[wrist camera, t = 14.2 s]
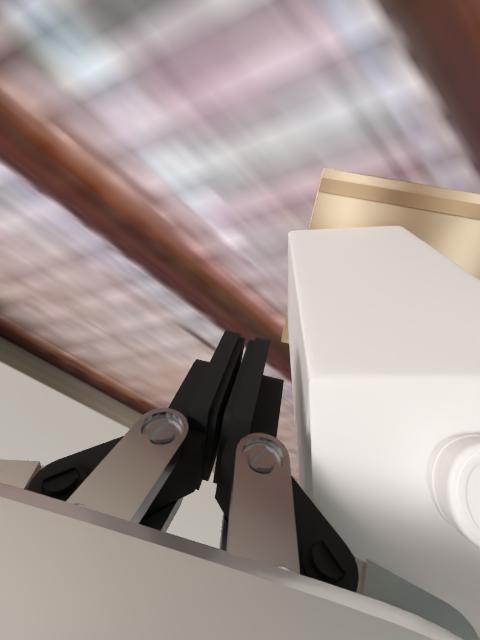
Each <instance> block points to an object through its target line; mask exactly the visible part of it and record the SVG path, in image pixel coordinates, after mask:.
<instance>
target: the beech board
mask: <svg viewBox="0 0 480 640" xmlns="http://www.w3.org/2000/svg"><path fill="white" fill-rule="evenodd" d="M377 226H402V227H403V228H405V229H406V230H408V231H409V232H411V233H412V234H414V235H415V236H416V237H418V238H419V239H421V240H422V241H424V242H425V243H427V244H428V245H430V246H431V247H432V248H434V249H435V250H437V251H438V252H440V253H441V254H443V255H444V256H445V257H447V258H448V259H450V260H451V261H453V262H454V263H456V264H457V265H459V266H460V267H461V268H463V269H464V270H466V271H467V272H469V273H470V274H472V275H473V276H475V277H476V278H477V279H479V280H480V194H477V193H471V192H465V191H459V190H453V189H447V188H441V187H435V186H429V185H423V184H417V183H411V182H405V181H399V180H393V179H387V178H381V177H375V176H369V175H363V174H357V173H351V172H345V171H339V170H333V169H327V168H323V171H322V175H321V180H320V184H319V188H318V192H317V196H316V200H315V204H314V208H313V212H312V216H311V220H310V224H309V228H308V230H316V229H336V228H357V227H377ZM281 342H285V343H289V332H288V314H287V318H286V322H285V326H284V330H283V334H282V341H281Z"/></svg>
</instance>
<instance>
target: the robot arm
mask: <svg viewBox="0 0 480 640" xmlns="http://www.w3.org/2000/svg"><path fill="white" fill-rule="evenodd" d="M244 343H245V338H241V337H240V333H237V332H232V331H228V330H226V331H225V332H224V334H223V336H222V338H221V340H220V343H219V345H218V347H217V349H216V351H215V353H214V355H213V357H212V359H211V361H210V362H207V361H202V360H198V359H197V360H195V362H194V363H193V365H192V367H191V369H190V371H189V372H188V374H187V376H186V378H185V379H184V381H183V383H182V385H181V386H180V388H179V390H178V392H177V394H176V395H175V397H174V399H173V401H172V402H171V404H170V406H169V408H159V409H154V410H151V411H149V412H147V413H145V414H144V415H143V416H142V417H141V418H140V419H139V420H138V421H137V422H136V423H135V424H134V425H133V427H132V428H131V429H130V430H129V431H128V432H127V433H126V434H125V436H122V437H120V438H117V439H114V440H111V441H109V442H106V443H103V444H100V445H98V446H95V447H92V448H89V449H86V450H84V451H81V452H78V453H75V454H73V455H70V456H67V457H64V458H62V459H59V460H57V461H54V462H52V463H50V464H48V465H46V466H41V465H40V462H39V461H19V460H0V640H480V638H479V637H478V635H477V633H476V631H475V630H474V628H473V626H472V625H471V624H470V622H469V621H468V620H467V619H466V618H465V617H464V616H463V614H462V613H461V612H459V611H458V610H457V609H455V608H454V607H453V606H451V605H450V604H448V603H447V602H445V601H443V600H441V599H439V598H437V597H436V596H434V595H432V594H430V593H428V592H427V591H425V590H423V589H421V588H419V587H417V586H416V585H414V584H412V583H410V582H408V581H407V580H405V579H403V578H401V577H399V576H397V575H396V574H394V573H392V572H390V571H388V570H387V569H385V568H383V567H381V566H379V565H377V564H376V563H374V562H372V561H370V560H368V559H366V561H365V562H363V561H362V560H360V559H358V558H356V557H354V555H353V554H352V552H351V551H350V549H349V548H348V546H347V545H346V543H345V542H344V541H343V540H342V538H341V537H340V536H339V535H338V533H337V532H336V531H335V530H334V528H333V527H332V526H331V524H330V523H329V522H328V521H327V519H326V518H325V517H324V516H323V514H322V513H321V512H320V511H319V509H318V508H317V507H316V506H315V504H314V503H313V502H312V501H311V499H310V498H309V497H308V496H307V494H306V493H305V492H304V491H303V489H302V488H301V487H300V486H299V484H298V483H297V482H296V481H295V479H294V478H293V477H292V476H291V469H290V458H289V455H288V451H287V449H286V448H285V446H284V445H283V444H282V443H281V442H280V441H279V440H278V439H277V438H276V436H277V428H278V421H279V413H280V405H281V398H282V390H283V382H284V380H281V379H277V378H273V377H268V376H264V375H263V372H264V367H265V363H266V358H267V354H268V349H269V345H270V340H267V339H263V338H259V337H256V338H255V341H254V340H249V342H248V345H247V348H246V351H245V354H244V357H243V360H242V355H243V349H244ZM241 360H242V362H241ZM217 453H218V454H217ZM216 456H217V461H216V467H215V473H214V481H213V483H216V484H217V488H216V494H215V498H216V500H217V502H218V504H219V505H220V507H221V509H222V511H223V512H224V514H223V520H222V530H221V540H220V549H217V548H214V547H210V546H208V545H204V544H201V543H198V542H195V541H192V540H188V539H185V538H182V537H179V536H175V535H172V534H169V533H166V530H167V529H168V527H169V525H170V523H171V521H172V520H173V518H174V516H175V514H176V512H177V510H178V509H179V507H180V505H181V502H182V499H183V497H184V496H186V495H188V494H190V493H192V492H194V491H195V489H197V490H199V488H200V485H201V482H202V480H206V481H208V480H209V477H210V475H211V471H212V468H213V465H214V462H215V459H216Z"/></svg>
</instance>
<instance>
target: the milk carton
mask: <svg viewBox="0 0 480 640" xmlns="http://www.w3.org/2000/svg"><path fill="white" fill-rule="evenodd" d="M288 332H289V346H290V360H291V374H292V388H293V402H294V416H295V431H296V445H297V459H298V473H299V486H300V487H301V488H302V489H303V491H304V492H305V493H306V494H307V496H308V497H309V498H310V499H311V501H312V502H313V503H314V504H315V506H316V507H317V508H318V509H319V511H320V512H321V513H322V514H323V516H324V517H325V518H326V519H327V521H328V522H329V523H330V524H331V526H332V527H333V528H334V530H335V531H336V532H337V533H338V535H339V536H340V537H341V538H342V540H343V541H344V542H345V543H346V545H347V546H348V548H349V549H350V551H351V552H352V554H353V555H354V557H356V558H358V559H360V560H362V561H363V562H365V561H366V559H368V560H370V561H372V562H374V563H376V564H377V565H379V566H381V567H383V568H385V569H387V570H388V571H390V572H392V573H394V574H396V575H397V576H399V577H401V578H403V579H405V580H407V581H408V582H410V583H412V584H414V585H416V586H417V587H419V588H421V589H423V590H425V591H427V592H428V593H430V594H432V595H434V596H436V597H437V598H439V599H441V600H443V601H445V602H447V603H448V604H450V605H451V606H453V607H454V608H455V609H457V610H458V611H459V612H461V613H462V614H463V616H464V617H465V618H466V619H467V620H468V621H469V622H470V624H471V625H472V626H473V628H474V630H475V631H476V633H477V635H478V637H479V638H480V280H479V279H477V278H476V277H475V276H473V275H472V274H470V273H469V272H467V271H466V270H464V269H463V268H461V267H460V266H459V265H457V264H456V263H454V262H453V261H451V260H450V259H448V258H447V257H445V256H444V255H443V254H441V253H440V252H438V251H437V250H435V249H434V248H432V247H431V246H430V245H428V244H427V243H425V242H424V241H422V240H421V239H419V238H418V237H416V236H415V235H414V234H412V233H411V232H409V231H408V230H406V229H405V228H403V227H402V226H377V227H357V228H336V229H316V230H297V231H290V232H289V233H288Z"/></svg>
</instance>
